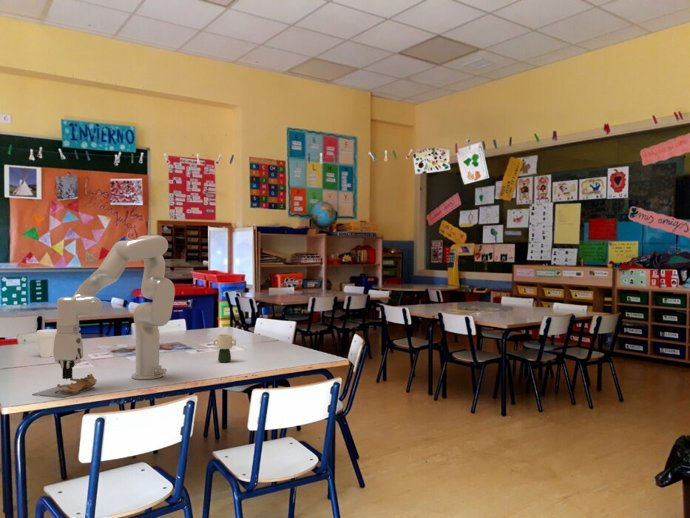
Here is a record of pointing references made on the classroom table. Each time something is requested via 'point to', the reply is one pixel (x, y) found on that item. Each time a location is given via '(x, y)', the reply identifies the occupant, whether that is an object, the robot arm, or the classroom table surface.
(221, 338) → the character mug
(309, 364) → the classroom table surface
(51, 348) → the foam cup
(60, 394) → the felt mat
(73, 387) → the lion figurine
